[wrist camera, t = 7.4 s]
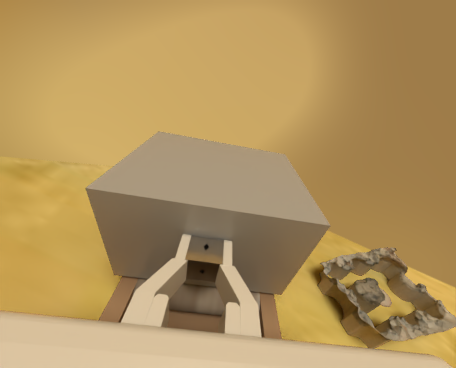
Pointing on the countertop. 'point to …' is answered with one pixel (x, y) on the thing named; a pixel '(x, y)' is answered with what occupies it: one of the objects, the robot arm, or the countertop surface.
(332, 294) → the egg carton
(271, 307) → the roller bed
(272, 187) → the grey cardboard box
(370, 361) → the robot arm
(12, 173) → the countertop surface
